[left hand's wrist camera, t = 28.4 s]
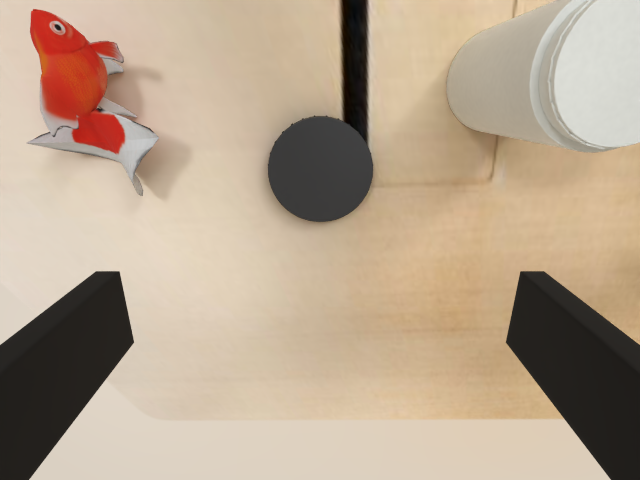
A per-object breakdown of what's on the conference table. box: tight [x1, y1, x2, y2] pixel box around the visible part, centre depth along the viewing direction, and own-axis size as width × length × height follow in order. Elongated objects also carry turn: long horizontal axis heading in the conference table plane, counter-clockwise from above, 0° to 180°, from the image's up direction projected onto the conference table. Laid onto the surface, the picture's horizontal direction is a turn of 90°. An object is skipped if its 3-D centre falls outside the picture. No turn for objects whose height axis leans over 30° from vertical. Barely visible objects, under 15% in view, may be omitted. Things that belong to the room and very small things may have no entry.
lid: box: [268, 116, 373, 222], centre depth 38 cm, size 10×10×2 cm
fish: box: [27, 9, 159, 196], centre depth 33 cm, size 11×16×10 cm
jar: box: [446, 0, 640, 152], centre depth 28 cm, size 9×9×17 cm
